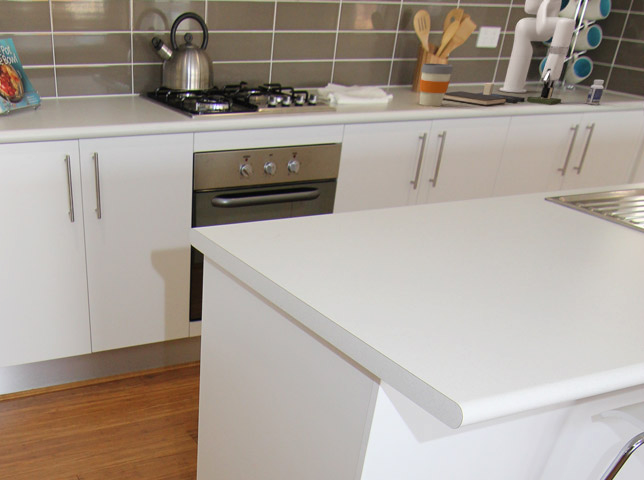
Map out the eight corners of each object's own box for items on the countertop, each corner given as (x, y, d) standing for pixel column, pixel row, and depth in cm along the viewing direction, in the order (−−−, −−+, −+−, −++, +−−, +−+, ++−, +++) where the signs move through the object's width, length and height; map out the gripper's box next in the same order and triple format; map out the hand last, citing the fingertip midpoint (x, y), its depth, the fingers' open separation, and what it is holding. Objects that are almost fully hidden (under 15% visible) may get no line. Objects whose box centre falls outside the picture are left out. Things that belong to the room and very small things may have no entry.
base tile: (503, 98, 335) (503, 95, 334) (524, 101, 329) (525, 97, 328) (491, 100, 327) (492, 96, 326) (512, 103, 321) (513, 99, 321)
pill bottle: (600, 104, 330) (607, 80, 324) (596, 105, 326) (603, 81, 321) (587, 102, 333) (595, 79, 327) (583, 103, 329) (591, 79, 324)
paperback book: (485, 105, 310) (487, 99, 309) (440, 98, 324) (441, 93, 323) (505, 103, 319) (506, 97, 317) (460, 96, 333) (461, 91, 332)
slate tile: (482, 95, 340) (485, 81, 337) (507, 99, 333) (511, 84, 330) (470, 97, 333) (473, 83, 330) (496, 101, 326) (499, 86, 323)
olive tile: (533, 99, 337) (537, 84, 333) (560, 102, 329) (564, 88, 326) (522, 101, 329) (526, 86, 326) (550, 104, 322) (554, 89, 319)
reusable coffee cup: (451, 106, 305) (459, 66, 297) (425, 106, 302) (433, 66, 294) (434, 102, 315) (442, 63, 307) (409, 102, 312) (416, 63, 304)
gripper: (557, 50, 325) (544, 95, 335) (542, 51, 314) (530, 97, 325) (574, 51, 320) (561, 97, 330) (559, 52, 310) (546, 99, 320)
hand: (545, 96), depth 327 cm, fingers open, 3 cm apart
